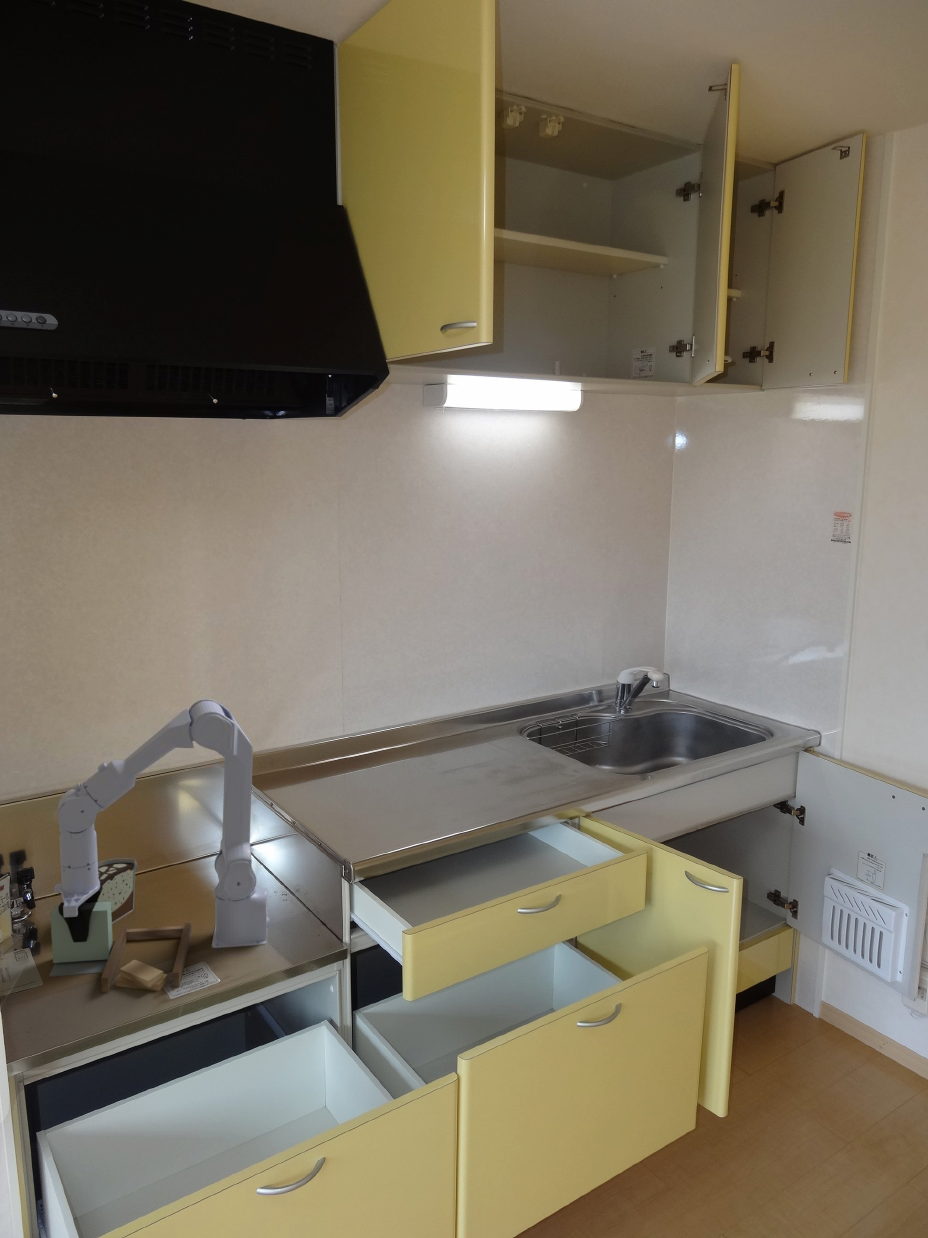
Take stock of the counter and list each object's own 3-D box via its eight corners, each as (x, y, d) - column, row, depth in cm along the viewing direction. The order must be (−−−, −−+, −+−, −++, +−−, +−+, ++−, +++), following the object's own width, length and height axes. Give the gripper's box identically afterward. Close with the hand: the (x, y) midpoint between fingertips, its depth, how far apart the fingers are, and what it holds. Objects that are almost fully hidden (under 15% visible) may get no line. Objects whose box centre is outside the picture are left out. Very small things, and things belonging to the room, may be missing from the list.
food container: (114, 900, 174) (111, 852, 173) (139, 907, 172) (137, 858, 170) (65, 930, 163) (62, 879, 161) (91, 937, 161) (88, 885, 159)
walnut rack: (191, 935, 162) (191, 920, 162) (179, 989, 146) (178, 972, 145) (122, 940, 160) (121, 924, 160) (101, 995, 144) (101, 978, 143)
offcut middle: (168, 980, 148) (167, 974, 147) (159, 991, 145) (159, 985, 144) (125, 975, 149) (124, 969, 148) (115, 986, 146) (115, 979, 146)
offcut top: (163, 978, 146) (163, 971, 146) (149, 988, 144) (148, 981, 143) (135, 966, 149) (134, 959, 149) (120, 975, 147) (120, 969, 146)
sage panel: (112, 950, 155) (110, 901, 154) (109, 959, 152) (107, 910, 151) (57, 953, 153) (55, 904, 152) (53, 963, 151) (50, 913, 149)
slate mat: (117, 946, 158) (117, 943, 158) (106, 974, 149) (106, 971, 149) (63, 949, 157) (63, 947, 156) (49, 978, 148) (49, 976, 148)
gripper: (65, 844, 156) (68, 915, 158) (41, 882, 142) (46, 960, 144) (107, 842, 157) (110, 913, 160) (88, 879, 143) (92, 957, 146)
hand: (82, 935), depth 152 cm, fingers closed on sage panel, 3 cm apart
